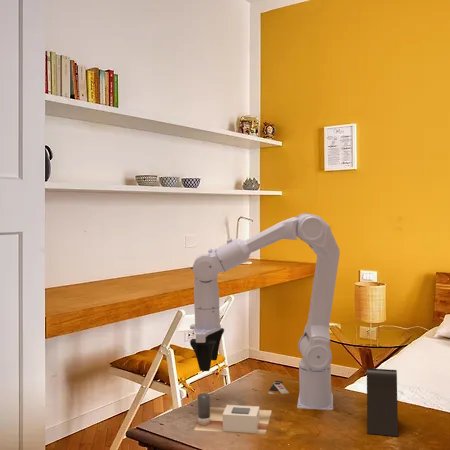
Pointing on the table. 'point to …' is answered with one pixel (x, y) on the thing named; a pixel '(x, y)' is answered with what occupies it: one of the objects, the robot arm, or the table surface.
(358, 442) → the table surface
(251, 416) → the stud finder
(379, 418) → the phone stand
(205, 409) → the grey capped cylinder
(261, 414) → the panel
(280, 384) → the usb flash drive
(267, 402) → the table surface
